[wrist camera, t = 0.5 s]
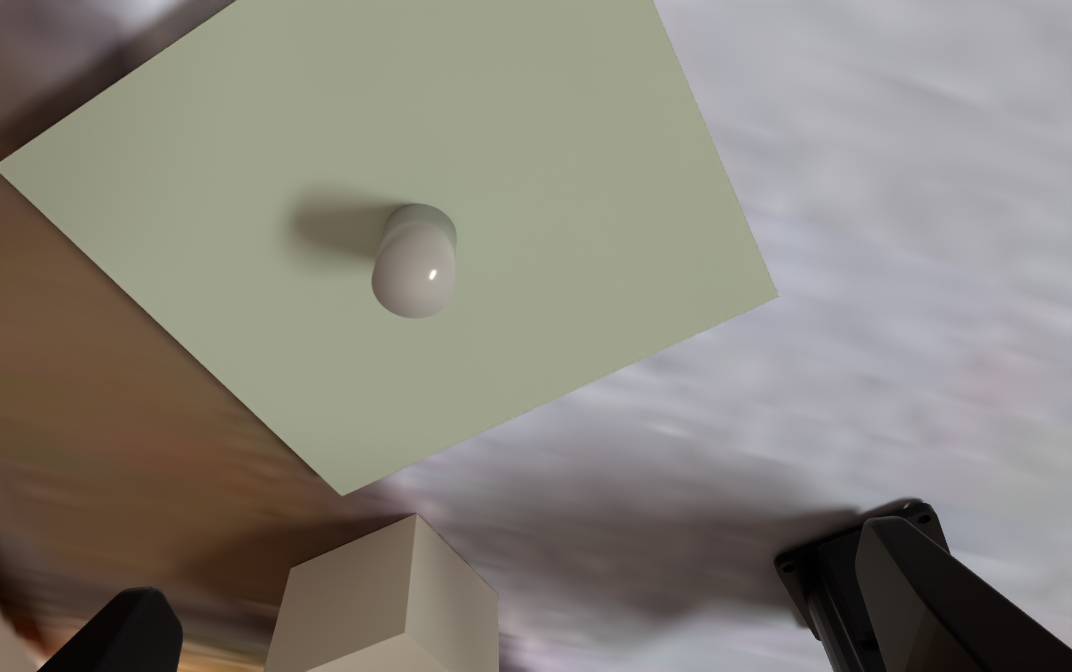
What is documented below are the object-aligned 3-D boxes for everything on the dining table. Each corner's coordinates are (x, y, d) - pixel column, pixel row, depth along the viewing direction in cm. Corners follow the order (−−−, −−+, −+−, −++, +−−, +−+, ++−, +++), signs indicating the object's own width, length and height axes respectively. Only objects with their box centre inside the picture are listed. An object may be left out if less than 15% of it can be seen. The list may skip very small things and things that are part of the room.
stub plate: (768, 279, 23) (808, 346, 20) (346, 475, 27) (329, 554, 24) (555, -219, 15) (570, -226, 13) (14, 151, 19) (-69, 210, 16)
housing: (497, 595, 31) (499, 713, 27) (380, 641, 33) (364, 760, 28) (416, 513, 28) (404, 632, 24) (290, 568, 29) (258, 690, 25)
